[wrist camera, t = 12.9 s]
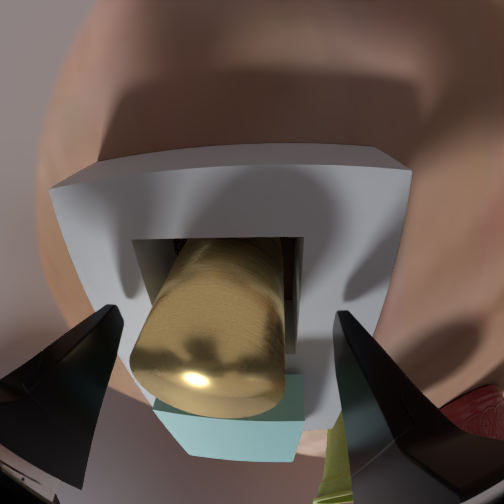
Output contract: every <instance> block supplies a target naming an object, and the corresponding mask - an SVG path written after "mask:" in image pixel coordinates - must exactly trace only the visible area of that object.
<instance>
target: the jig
mask: <svg viewBox="0 0 504 504" xmlns="http://www.w3.org/2000/svg"><path fill="white" fill-rule="evenodd" d="M411 177H412V170H411V169H409V168H408V167H406V166H405V165H403V164H401V163H400V162H398V161H397V160H395V159H394V158H392V157H390V156H389V155H387V154H386V153H384V152H382V151H381V150H379V149H377V148H376V147H371V146H358V145H342V144H318V143H261V144H236V145H220V146H207V147H195V148H185V149H176V150H168V151H160V152H152V153H145V154H139V155H132V156H126V157H120V158H115V159H109V160H104V161H99V162H96V163H94V164H92V165H90V166H88V167H86V168H84V169H83V170H81V171H79V172H77V173H75V174H74V175H72V176H70V177H68V178H67V179H65V180H63V181H61V182H60V183H58V184H56V185H55V186H53V187H52V188H50V189H49V192H50V196H51V200H52V203H53V206H54V210H55V213H56V216H57V219H58V223H59V226H60V229H61V232H62V234H63V237H64V240H65V243H66V246H67V248H68V251H69V254H70V256H71V259H72V261H73V264H74V266H75V269H76V271H77V273H78V276H79V278H80V280H81V283H82V285H83V287H84V290H85V292H86V294H87V296H88V298H89V300H90V302H91V304H92V307H93V309H94V311H95V312H96V311H98V310H99V309H100V308H102V307H103V306H105V305H106V304H115V305H117V306H118V308H119V310H120V313H121V315H122V317H123V319H124V328H123V332H122V336H121V340H120V344H119V349H118V355H119V357H120V358H121V360H122V362H123V363H124V365H125V367H126V368H127V370H128V371H129V373H130V374H131V376H132V378H133V379H134V381H135V382H136V384H137V385H138V387H139V388H140V390H141V391H142V393H143V394H144V396H145V397H146V398H147V400H148V401H149V403H150V404H151V405H152V407H153V405H154V402H155V399H156V397H155V396H153V395H152V394H150V393H149V392H148V391H147V390H146V389H144V388H143V387H142V386H141V384H140V383H139V382H138V381H137V380H136V378H135V377H134V375H133V373H132V371H131V368H130V364H129V359H130V354H131V352H132V350H133V347H134V345H135V343H136V341H137V339H138V336H139V334H140V332H141V330H142V328H143V325H144V323H145V321H146V319H147V317H148V315H149V313H150V311H151V308H152V306H153V304H154V302H155V300H156V298H157V296H158V294H159V292H160V290H161V288H162V286H163V284H164V282H165V280H166V278H167V276H168V274H169V272H170V270H171V268H172V266H173V264H174V262H175V260H176V258H177V257H176V252H175V248H174V243H173V239H174V238H228V237H295V257H294V282H293V300H284V318H285V374H303V385H304V408H305V423H304V426H303V430H302V431H305V430H323V429H332V428H333V426H334V424H335V422H336V420H337V418H338V416H339V414H340V412H341V410H342V409H341V403H340V397H339V391H338V385H337V380H336V373H335V362H334V347H333V333H332V330H333V323H334V318H335V314H336V311H338V310H348V311H349V312H350V313H351V314H352V315H353V316H354V317H355V318H356V319H357V320H358V321H359V322H360V324H361V325H362V326H363V327H364V328H365V329H366V330H367V331H368V332H369V334H370V335H371V336H373V334H374V331H375V328H376V325H377V322H378V319H379V316H380V313H381V310H382V307H383V304H384V300H385V297H386V294H387V290H388V287H389V283H390V280H391V276H392V272H393V269H394V265H395V261H396V257H397V252H398V248H399V244H400V239H401V235H402V230H403V225H404V220H405V215H406V209H407V204H408V198H409V191H410V185H411Z"/></svg>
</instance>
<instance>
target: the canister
mask: <svg viewBox="0 0 504 504" xmlns="http://www.w3.org/2000/svg"><path fill="white" fill-rule="evenodd" d="M440 411H441V412H442V413H443V414H445V415H446V416H447V417H448V418H449V419H450V420H451V421H452V422H453V423H454V424H455V425H457V426H458V427H459V428H461V429H462V430H464V431H466V432H469V433H473V434H477V435H481V436H486V437H491V438H495V439H501V440H504V396H503V393H502V392H501V391H500V390H499V388H498V386H497V385H488V386H484V387H482V388H479V389H477V390H474V391H472V392H470V393H468V394H466V395H464V396H462V397H460V398H458V399H457V400H455V401H453V402H451V403H450V404H448V405H446V406H445V407H443V408H442V409H440Z"/></svg>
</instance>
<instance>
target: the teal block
mask: <svg viewBox="0 0 504 504" xmlns="http://www.w3.org/2000/svg"><path fill="white" fill-rule="evenodd" d="M153 411H154V412H155V414H156V415H157V416H158V418H159V419H160V420H161V421H162V423H163V424H164V425H165V427H166V428H167V429H168V430H169V431H170V433H171V434H172V435H173V436H174V438H175V439H176V440H177V441H178V442H179V444H180V445H181V446H182V447H183V448H184V449H185V450H186V452H188V454H189V455H194V456H201V457H208V458H216V459H226V460H227V459H228V460H238V461H256V462H258V461H259V462H293V459H294V456H295V453H296V450H297V447H298V443H299V440H300V437H301V433H302V430H303V426H304V423H305V408H304V385H303V374H285V394H284V396H283V398H282V400H281V401H280V402H279V403H278V404H277V405H276V406H275V407H273V408H271V409H270V410H268V411H266V412H263V413H261V414H258V415H254V416H249V417H243V418H214V417H206V416H201V415H197V414H193V413H189V412H186V411H183V410H180V409H178V408H175V407H173V406H171V405H168V404H167V403H165V402H163V401H161V400H159V399H158V398H156V399H155V402H154V405H153Z"/></svg>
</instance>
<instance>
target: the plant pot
mask: <svg viewBox="0 0 504 504" xmlns="http://www.w3.org/2000/svg"><path fill="white" fill-rule="evenodd" d="M347 502H353V492H352V483H351V473H350V465H349V457H348V449H347V442H346V435H345V428H344V421H343V415H342V410H341V412H340V414H339V416H338V418H337V420H336V422H335V424H334V426H333V428H332V429H328V434H327V448H326V458H325V468H324V475H323V481H322V483H321V484H320V487H319V492H318V497H317V498H315V499H314V500H313V504H338V503H347Z"/></svg>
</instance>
